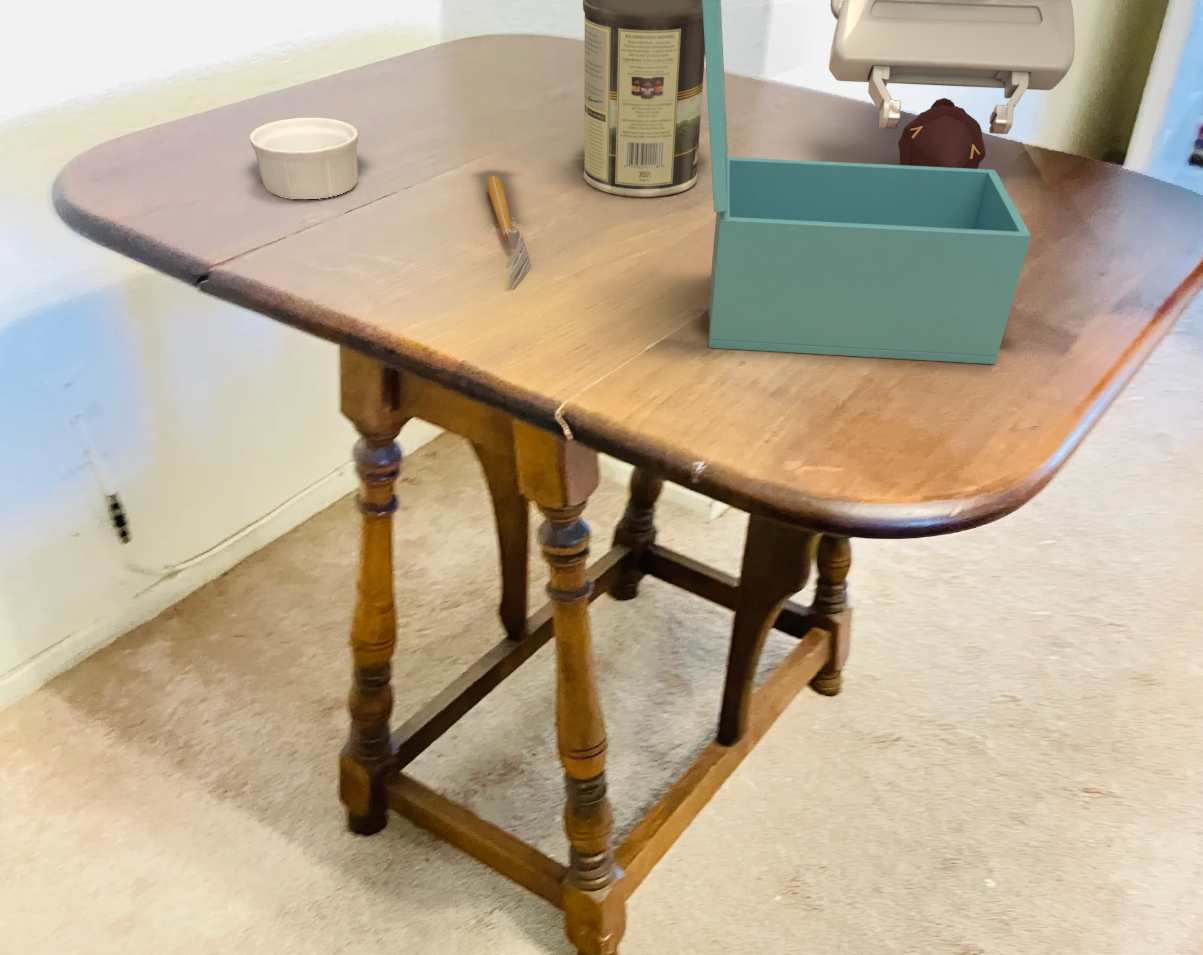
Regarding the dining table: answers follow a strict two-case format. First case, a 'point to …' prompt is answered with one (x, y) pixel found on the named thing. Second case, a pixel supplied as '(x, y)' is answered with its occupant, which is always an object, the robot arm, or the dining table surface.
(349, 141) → the ramekin
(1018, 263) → the box
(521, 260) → the fork
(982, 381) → the dining table surface
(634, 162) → the coffee can
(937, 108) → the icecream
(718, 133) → the lid
